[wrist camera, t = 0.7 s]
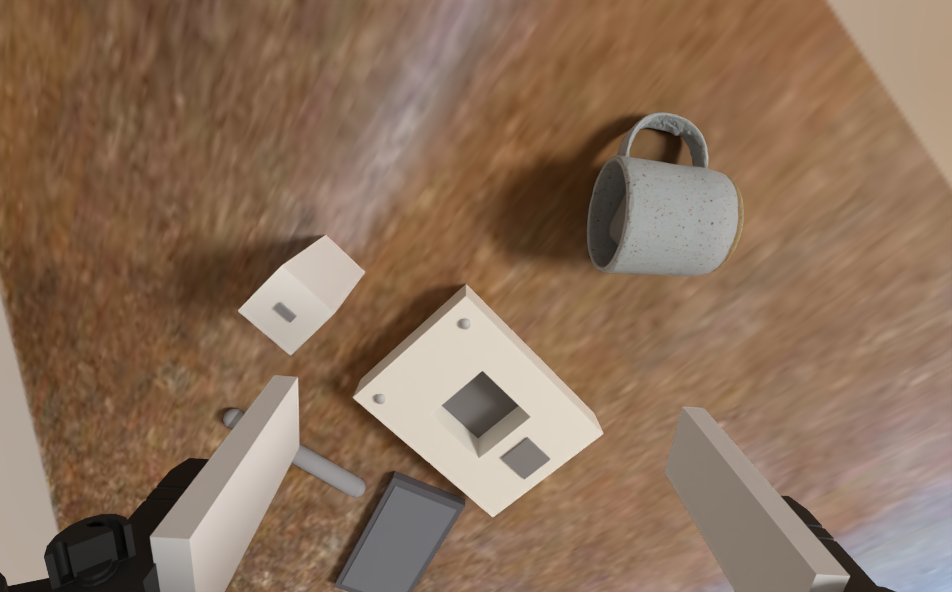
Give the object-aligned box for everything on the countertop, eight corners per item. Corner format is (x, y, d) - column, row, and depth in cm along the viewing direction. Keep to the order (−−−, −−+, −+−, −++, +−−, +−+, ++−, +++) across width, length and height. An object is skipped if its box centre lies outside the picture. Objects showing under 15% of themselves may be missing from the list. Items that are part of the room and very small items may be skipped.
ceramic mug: (685, 264, 37) (739, 293, 30) (580, 257, 37) (609, 285, 29) (715, 119, 34) (784, 111, 27) (601, 110, 34) (639, 100, 26)
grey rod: (225, 414, 41) (216, 425, 39) (234, 401, 40) (225, 411, 39) (360, 491, 43) (357, 504, 42) (370, 479, 43) (366, 492, 42)
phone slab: (336, 579, 46) (333, 587, 46) (394, 471, 43) (393, 478, 42) (402, 602, 47) (401, 610, 47) (465, 499, 44) (465, 506, 43)
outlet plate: (360, 378, 40) (352, 399, 37) (465, 283, 37) (465, 296, 34) (491, 492, 43) (493, 519, 40) (593, 413, 41) (604, 435, 38)
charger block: (290, 270, 37) (235, 311, 28) (325, 234, 36) (280, 266, 27) (330, 305, 38) (289, 356, 29) (365, 272, 37) (333, 314, 28)
